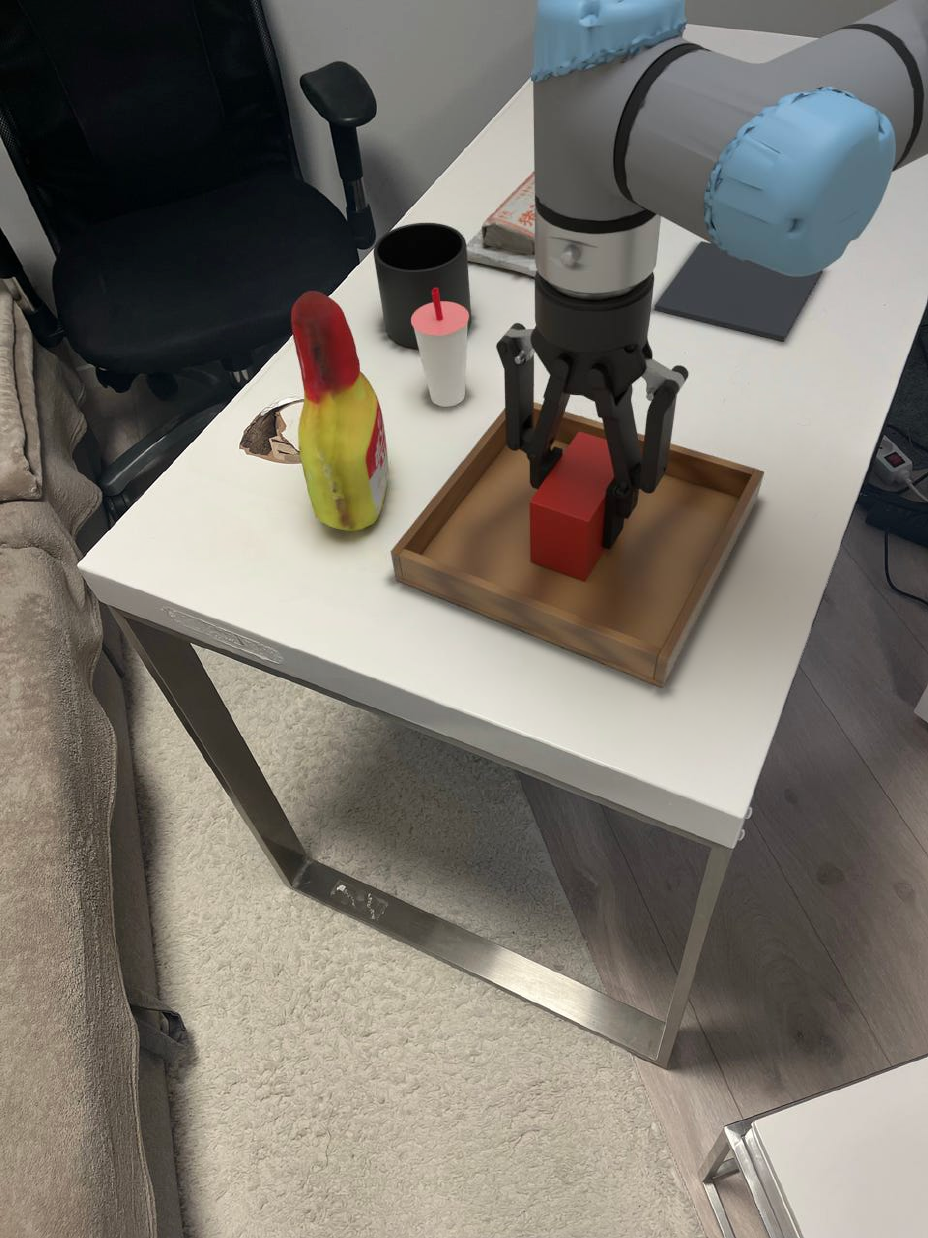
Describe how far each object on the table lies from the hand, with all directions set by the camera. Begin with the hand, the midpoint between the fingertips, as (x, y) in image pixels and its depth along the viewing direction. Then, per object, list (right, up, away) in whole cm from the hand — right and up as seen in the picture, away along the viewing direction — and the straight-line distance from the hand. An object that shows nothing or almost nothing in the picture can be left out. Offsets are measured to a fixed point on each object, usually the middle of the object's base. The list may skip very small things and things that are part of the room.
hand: (580, 526), depth 73 cm
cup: (-11, +14, +15) cm, 23 cm away
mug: (-13, +25, +23) cm, 36 cm away
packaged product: (-1, +39, +32) cm, 50 cm away
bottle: (-19, +3, +7) cm, 21 cm away
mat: (+20, +28, +22) cm, 41 cm away
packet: (0, -1, +1) cm, 1 cm away
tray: (0, -1, +1) cm, 2 cm away
